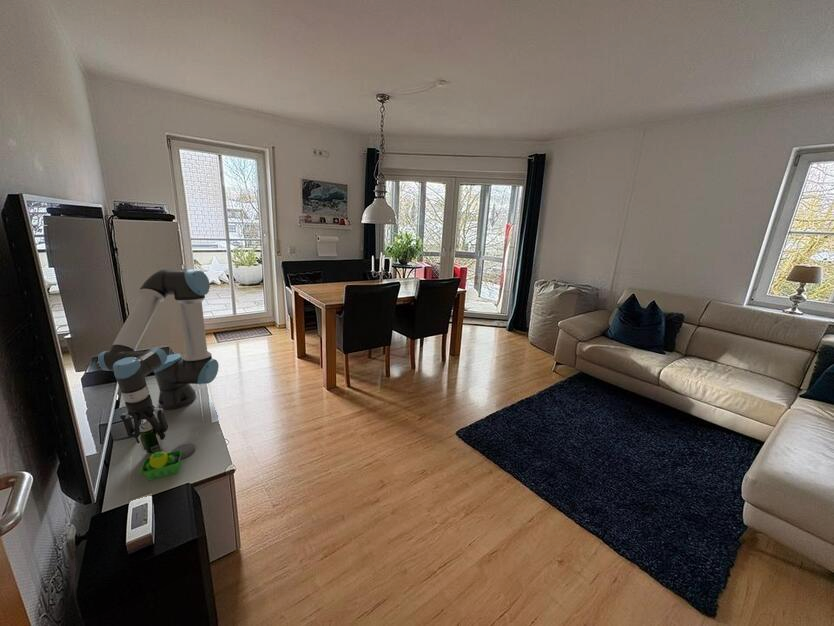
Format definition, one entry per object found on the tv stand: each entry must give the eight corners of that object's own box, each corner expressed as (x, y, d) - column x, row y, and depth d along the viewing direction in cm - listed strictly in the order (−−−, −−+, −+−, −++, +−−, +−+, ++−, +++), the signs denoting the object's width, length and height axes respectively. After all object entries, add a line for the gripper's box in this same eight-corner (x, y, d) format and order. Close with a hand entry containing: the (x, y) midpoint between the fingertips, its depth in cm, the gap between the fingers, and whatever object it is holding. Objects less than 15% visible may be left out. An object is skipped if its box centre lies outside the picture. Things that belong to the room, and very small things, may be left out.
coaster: (175, 447, 140) (175, 445, 140) (197, 443, 142) (197, 441, 142) (167, 461, 133) (167, 459, 133) (191, 457, 135) (190, 455, 134)
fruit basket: (184, 460, 134) (177, 436, 130) (180, 476, 126) (173, 452, 122) (149, 468, 130) (140, 444, 126) (142, 486, 122) (133, 461, 118)
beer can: (165, 448, 138) (157, 423, 134) (150, 456, 134) (141, 431, 130) (159, 442, 141) (151, 418, 137) (144, 451, 137) (135, 426, 132)
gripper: (102, 407, 123) (122, 458, 132) (161, 399, 127) (176, 449, 136) (113, 395, 130) (131, 444, 138) (169, 388, 134) (183, 436, 143)
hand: (153, 446), depth 137 cm, fingers closed on beer can, 5 cm apart
